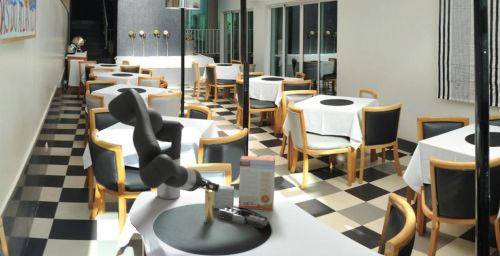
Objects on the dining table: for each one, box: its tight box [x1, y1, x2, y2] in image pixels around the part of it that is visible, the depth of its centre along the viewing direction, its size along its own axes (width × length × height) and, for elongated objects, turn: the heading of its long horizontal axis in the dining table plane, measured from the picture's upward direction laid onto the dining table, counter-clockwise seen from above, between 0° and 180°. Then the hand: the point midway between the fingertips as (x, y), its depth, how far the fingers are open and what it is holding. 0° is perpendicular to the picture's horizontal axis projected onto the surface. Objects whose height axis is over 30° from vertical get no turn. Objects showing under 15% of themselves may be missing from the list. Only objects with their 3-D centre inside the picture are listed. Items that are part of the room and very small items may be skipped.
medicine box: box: [214, 185, 235, 208], centre depth 184 cm, size 8×4×9 cm, turn 92°
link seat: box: [232, 208, 254, 226], centre depth 171 cm, size 5×7×3 cm
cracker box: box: [238, 155, 276, 211], centre depth 185 cm, size 14×6×21 cm, turn 82°
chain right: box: [245, 213, 269, 230], centre depth 168 cm, size 7×5×3 cm
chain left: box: [218, 206, 242, 222], centre depth 175 cm, size 7×5×3 cm
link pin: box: [204, 189, 215, 223], centre depth 169 cm, size 4×4×12 cm
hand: (207, 184), depth 161 cm, fingers open, 8 cm apart
